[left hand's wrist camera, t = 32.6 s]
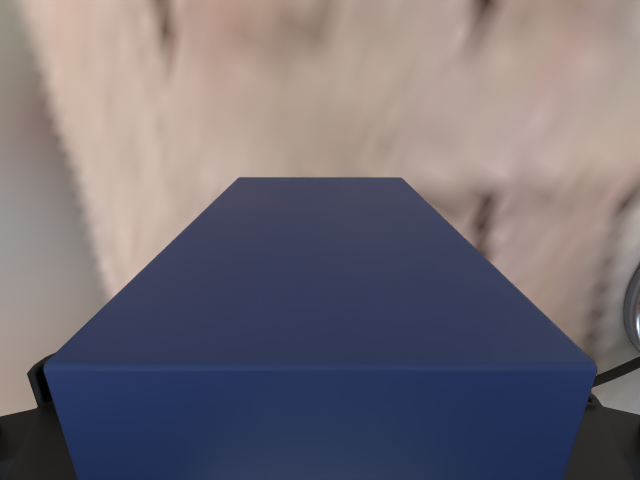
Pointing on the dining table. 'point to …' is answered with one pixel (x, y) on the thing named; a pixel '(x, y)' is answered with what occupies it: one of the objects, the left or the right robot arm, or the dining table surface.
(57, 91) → the dining table surface
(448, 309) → the brick
